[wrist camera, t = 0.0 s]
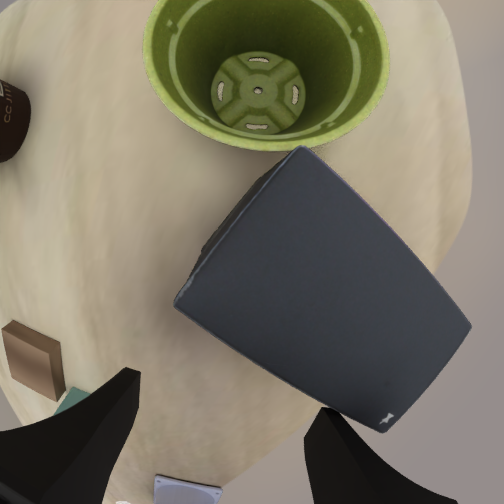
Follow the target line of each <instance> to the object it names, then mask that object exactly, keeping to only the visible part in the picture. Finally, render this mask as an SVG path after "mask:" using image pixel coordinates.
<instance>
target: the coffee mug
mask: <svg viewBox="0 0 504 504" xmlns="http://www.w3.org/2000/svg"><path fill="white" fill-rule="evenodd" d="M30 116H31V106H30V101H29V98H28V96H27V95H26V93H25V92H24V91H22V90H20V89H18V88H16V87H14V86H12V85H10V84H8V83H6V82H4V81H2V80H0V162H4V161H7V160H9V159H10V158H12V157H13V156H14V155H15V154H16V153H17V151H18V150H19V149H20V147H21V145H22V143H23V142H24V139H25V137H26V134H27V131H28V128H29V123H30Z"/></svg>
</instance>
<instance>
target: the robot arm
mask: <svg viewBox="0 0 504 504" xmlns="http://www.w3.org/2000/svg"><path fill="white" fill-rule="evenodd" d="M140 376H141V372H140V371H136V370H133V369H130V368H127V367H125V368H123V369H122V370H121V371H120V372H119V373H117V374H116V375H115V376H114V377H113V378H111V379H110V380H109V381H108V382H106V383H105V384H104V385H103V386H101V387H100V388H99V389H97V390H96V391H94V392H93V393H92V394H90V395H89V396H87V397H86V398H84V399H83V400H81V401H79V402H78V403H76V404H75V405H73V406H71V407H69V408H68V409H66V410H64V411H62V412H60V413H58V414H56V415H54V416H51V417H49V418H47V419H44V420H42V421H39V422H36V423H33V424H30V425H27V426H23V427H20V428H15V429H12V430H6V431H0V504H102V501H103V497H104V494H105V490H106V487H107V484H108V481H109V477H110V475H111V472H112V470H113V467H114V465H115V463H116V461H117V459H118V456H119V454H120V452H121V450H122V448H123V446H124V444H125V442H126V440H127V437H128V435H129V433H130V431H131V429H132V427H133V424H134V421H135V418H136V414H137V411H138V408H139V393H140ZM304 452H305V461H306V466H307V471H308V476H309V481H310V485H311V490H312V494H313V500H314V504H458V503H457V501H456V500H454V499H450V498H448V497H445V496H442V495H439V494H436V493H434V492H432V491H430V490H427V489H425V488H423V487H422V486H420V485H418V484H416V483H414V482H413V481H411V480H409V479H408V478H406V477H405V476H403V475H401V474H400V473H399V472H397V471H396V470H395V469H394V468H392V467H391V466H390V465H388V464H387V463H386V462H385V461H384V460H383V459H381V458H380V457H379V456H378V455H377V454H376V453H375V452H374V451H373V450H372V449H371V448H370V447H369V446H368V445H367V444H366V443H365V442H364V441H363V439H362V438H361V437H359V435H358V434H357V433H356V432H355V431H354V429H353V428H352V427H351V426H350V425H349V424H348V422H347V421H346V420H345V419H344V418H343V417H342V415H341V414H340V413H339V412H337V411H335V410H334V409H332V408H327V407H321V409H320V411H319V413H318V415H317V416H316V418H315V420H314V421H313V423H312V425H311V427H310V429H309V430H308V432H307V433H306V435H305V437H304ZM222 493H223V490H222V489H221V488H216V487H210V486H204V485H199V484H194V483H189V482H184V481H179V480H175V479H171V478H167V477H163V476H159V475H156V476H155V481H154V504H217V503H218V500H219V498H220V497H221V494H222Z"/></svg>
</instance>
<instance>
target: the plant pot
mask: <svg viewBox="0 0 504 504" xmlns="http://www.w3.org/2000/svg"><path fill="white" fill-rule="evenodd" d="M142 53H143V62H144V66H145V70H146V73H147V76H148V79H149V81H150V83H151V85H152V87H153V89H154V91H155V93H156V94H157V96H158V97H159V99H160V100H161V101H162V102H163V104H164V105H165V106H166V107H167V108H168V109H169V110H170V111H171V112H172V113H173V114H174V115H175V116H176V117H177V118H178V119H179V120H181V121H182V122H183V123H185V124H186V125H188V126H189V127H191V128H192V129H194V130H196V131H197V132H199V133H201V134H202V135H204V136H207V137H209V138H211V139H213V140H216V141H218V142H221V143H224V144H227V145H231V146H234V147H238V148H243V149H248V150H256V151H266V152H280V151H292V150H293V149H295V148H296V147H297V146H299V145H304V146H306V147H308V148H312V147H316V146H319V145H323V144H326V143H328V142H331V141H333V140H335V139H337V138H339V137H341V136H343V135H345V134H347V133H348V132H350V131H351V130H353V129H354V128H356V127H357V126H358V125H359V124H361V123H362V122H363V121H364V120H365V119H366V118H367V117H368V116H369V115H370V114H371V113H372V111H373V110H374V109H375V108H376V106H377V105H378V103H379V102H380V100H381V98H382V96H383V94H384V91H385V89H386V86H387V82H388V78H389V71H390V54H389V46H388V41H387V37H386V34H385V31H384V28H383V26H382V24H381V22H380V20H379V18H378V16H377V15H376V13H375V12H374V10H373V8H372V7H371V5H370V4H369V3H368V1H367V0H158V2H157V3H156V5H155V6H154V8H153V10H152V12H151V14H150V16H149V18H148V21H147V23H146V27H145V30H144V35H143V47H142ZM252 57H263V58H267V59H268V60H269V62H268V63H267V62H261V61H248V60H249V59H250V58H252ZM221 81H222V82H224V87H223V97H222V98H223V100H222V101H221V100H219V98H218V94H217V88H218V84H219V83H220V82H221ZM293 85H296V86H297V88H298V89H299V98H298V102H297V103H296V104H295V105H294V104H293V103H292V99H293V89H292V87H293ZM256 87H260V88H262V90H263V91H262V93H261V94H256V93H255V92H254V89H255V88H256ZM247 123H250V124H256V125H263V124H267V125H268V127H267V129H256V130H253V129H249V128H247V127H246V124H247Z"/></svg>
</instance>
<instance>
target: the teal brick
mask: <svg viewBox="0 0 504 504" xmlns="http://www.w3.org/2000/svg"><path fill="white" fill-rule="evenodd" d="M89 395H90V394H89V393H87V392H84V391H82V390H80V389H77V388H75V387H73V388H72V389H71V390H70V392H69V393H68V395H67V396H66V398H65V399H64V400H63V402H62V403H61V405H60V406H59V408H58V409H57V410H56V412H55V413H54V415H56V414H58V413H60V412H62V411H64V410H66V409H68V408H69V407H71V406H73V405H75V404H76V403H78V402H79V401H81V400H83V399H84V398H86V397H87V396H89ZM54 415H53V416H54Z"/></svg>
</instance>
